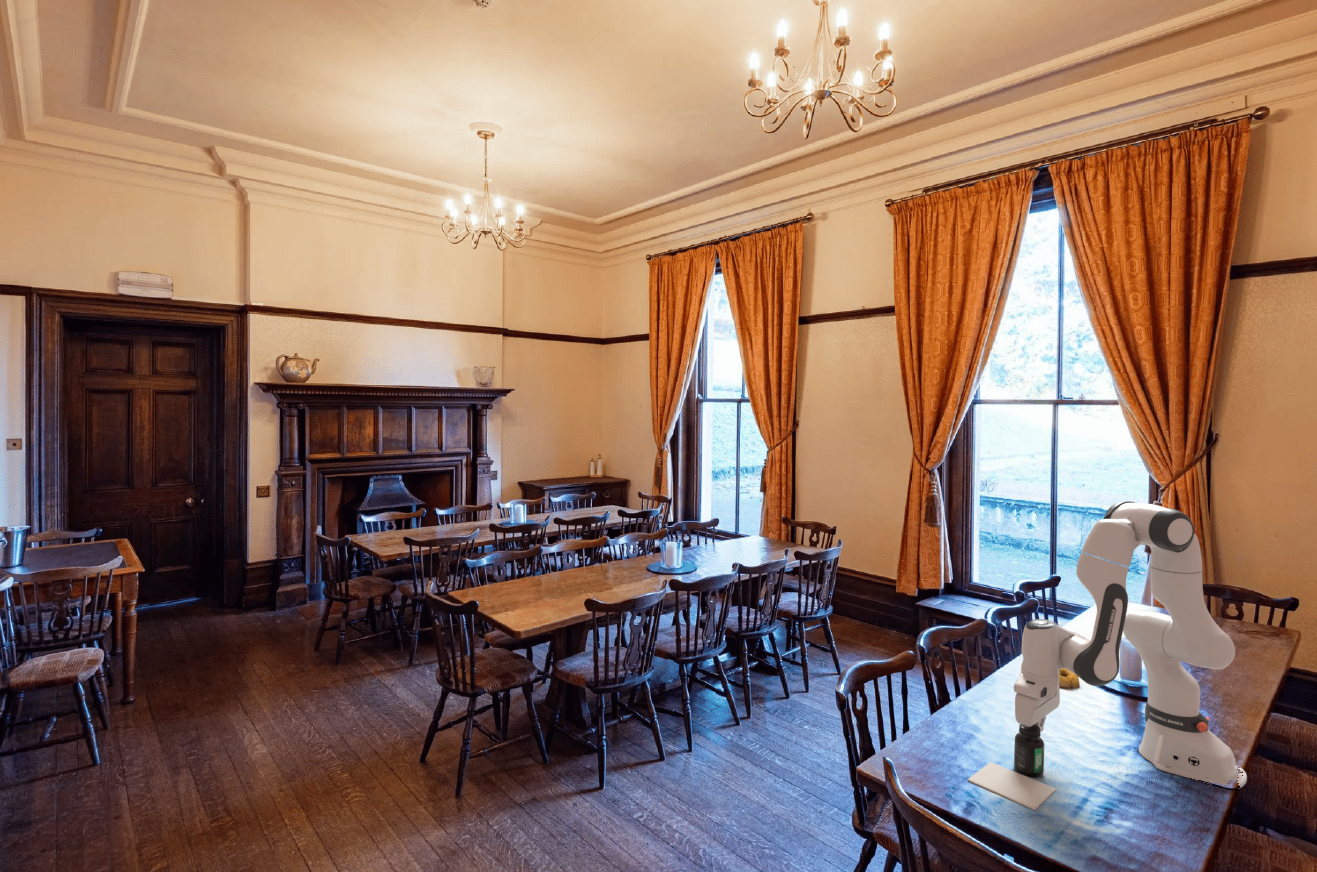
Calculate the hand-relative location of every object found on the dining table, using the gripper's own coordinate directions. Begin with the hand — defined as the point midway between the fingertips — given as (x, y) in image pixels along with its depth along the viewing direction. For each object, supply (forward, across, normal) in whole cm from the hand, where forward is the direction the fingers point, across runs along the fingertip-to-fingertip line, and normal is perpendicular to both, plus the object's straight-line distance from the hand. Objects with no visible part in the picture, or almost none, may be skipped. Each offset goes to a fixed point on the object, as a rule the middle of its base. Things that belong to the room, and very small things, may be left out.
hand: (1037, 731), depth 176 cm
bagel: (+9, -64, -16) cm, 66 cm away
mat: (+9, +16, 0) cm, 18 cm away
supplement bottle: (+9, +6, 0) cm, 11 cm away
